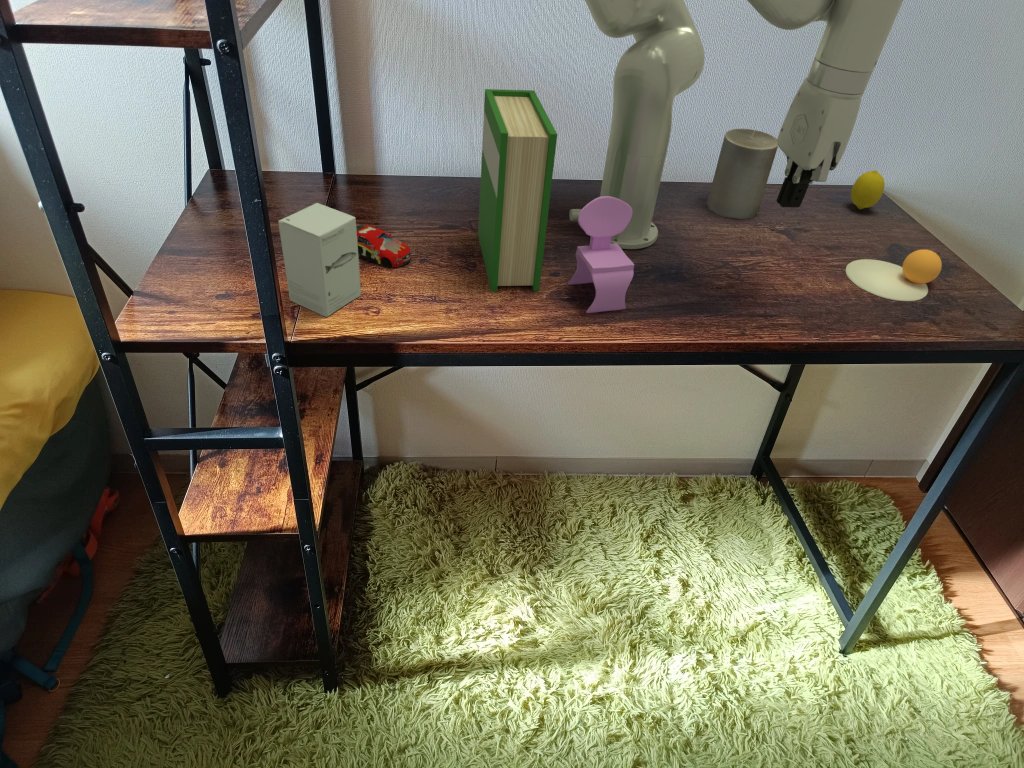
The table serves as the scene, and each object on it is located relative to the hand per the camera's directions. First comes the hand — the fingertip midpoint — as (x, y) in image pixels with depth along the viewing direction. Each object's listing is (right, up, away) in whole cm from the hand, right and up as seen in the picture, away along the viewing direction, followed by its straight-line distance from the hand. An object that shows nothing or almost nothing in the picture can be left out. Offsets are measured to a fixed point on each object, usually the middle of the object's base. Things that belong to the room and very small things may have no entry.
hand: (787, 204), depth 104 cm
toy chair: (-28, -14, +2) cm, 32 cm away
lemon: (+28, +8, +34) cm, 44 cm away
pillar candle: (+1, +7, +30) cm, 30 cm away
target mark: (+21, -9, +12) cm, 26 cm away
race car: (-63, -6, +7) cm, 64 cm away
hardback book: (-42, -7, +8) cm, 43 cm away
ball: (+27, -7, +11) cm, 30 cm away
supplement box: (-68, -15, -4) cm, 70 cm away
